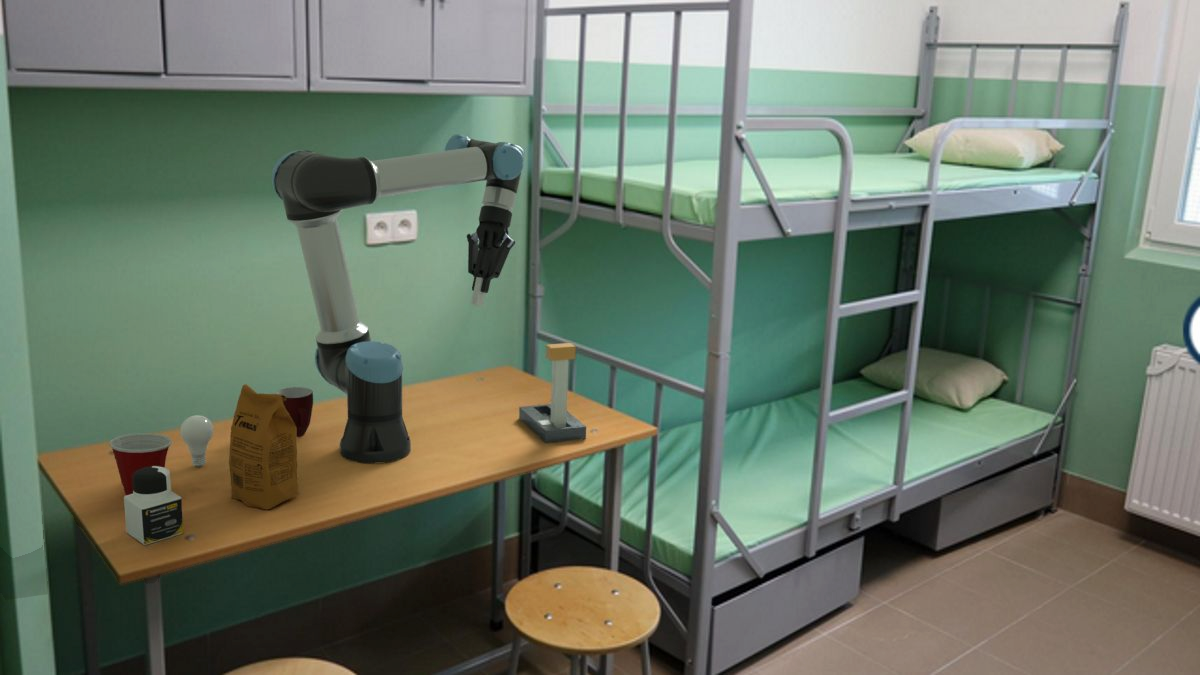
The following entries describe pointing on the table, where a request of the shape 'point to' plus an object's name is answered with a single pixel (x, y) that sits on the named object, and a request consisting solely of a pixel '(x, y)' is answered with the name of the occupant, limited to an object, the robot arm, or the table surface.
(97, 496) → the table surface
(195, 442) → the lightbulb
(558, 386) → the lever
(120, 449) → the plastic cup
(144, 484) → the medicine bottle
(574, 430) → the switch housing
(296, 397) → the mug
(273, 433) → the coffee package
